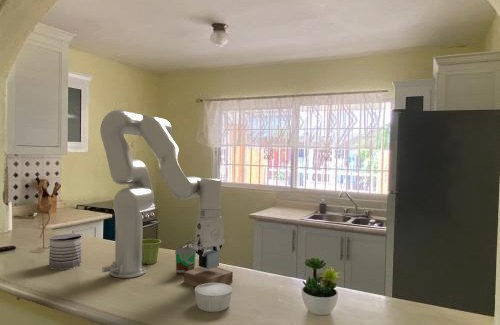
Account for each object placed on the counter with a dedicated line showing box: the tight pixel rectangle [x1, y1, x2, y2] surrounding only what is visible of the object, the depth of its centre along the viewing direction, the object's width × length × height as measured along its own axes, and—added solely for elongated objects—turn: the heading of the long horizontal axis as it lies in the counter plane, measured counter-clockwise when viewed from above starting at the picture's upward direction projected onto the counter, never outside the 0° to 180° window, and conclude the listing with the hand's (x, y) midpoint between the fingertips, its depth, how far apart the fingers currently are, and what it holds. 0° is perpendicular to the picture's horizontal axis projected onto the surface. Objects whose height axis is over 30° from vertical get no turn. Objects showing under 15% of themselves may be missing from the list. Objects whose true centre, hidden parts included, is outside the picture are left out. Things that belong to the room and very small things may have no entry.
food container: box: [174, 241, 197, 275], centre depth 143 cm, size 12×6×10 cm, turn 168°
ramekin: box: [194, 283, 233, 313], centre depth 111 cm, size 11×11×5 cm
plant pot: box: [142, 238, 162, 265], centre depth 153 cm, size 9×9×9 cm
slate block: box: [205, 248, 220, 269], centre depth 131 cm, size 5×5×5 cm
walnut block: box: [183, 266, 234, 288], centre depth 131 cm, size 12×12×4 cm
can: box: [48, 232, 83, 271], centre depth 146 cm, size 11×11×12 cm
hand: (208, 264), depth 131 cm, fingers closed on slate block, 5 cm apart
